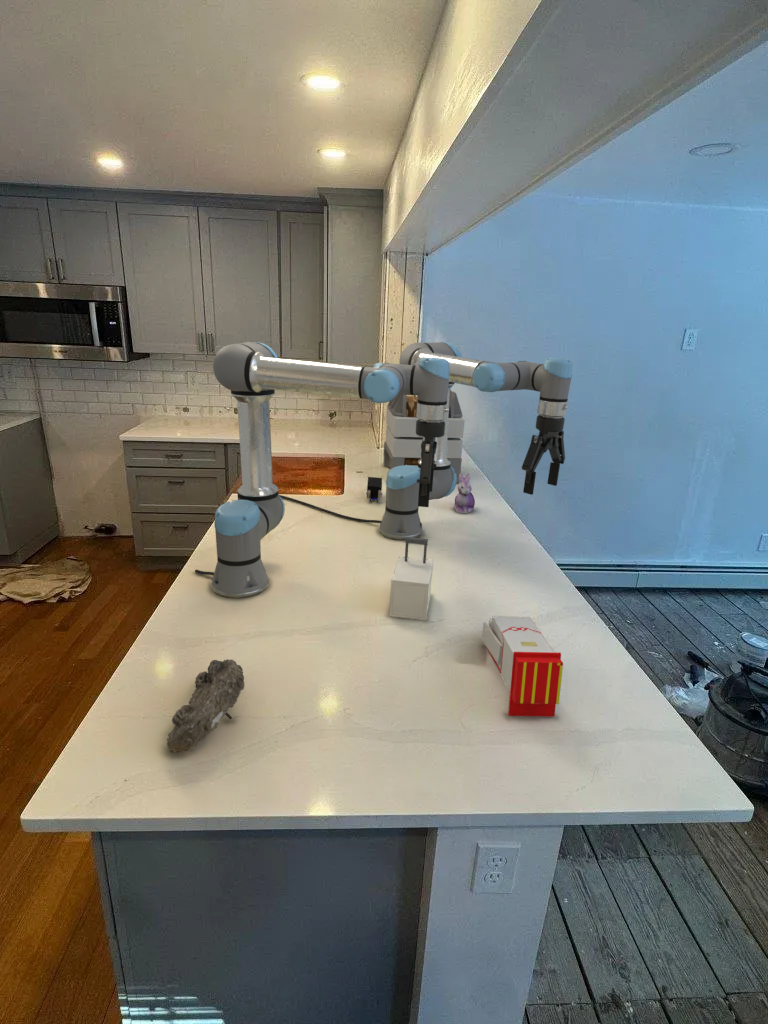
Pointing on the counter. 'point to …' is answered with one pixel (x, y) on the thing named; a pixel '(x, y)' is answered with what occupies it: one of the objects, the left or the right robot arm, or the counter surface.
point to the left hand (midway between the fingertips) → (425, 498)
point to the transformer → (405, 441)
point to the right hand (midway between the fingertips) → (540, 489)
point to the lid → (413, 566)
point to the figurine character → (374, 488)
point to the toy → (525, 665)
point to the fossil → (206, 705)
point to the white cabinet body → (410, 600)
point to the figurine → (464, 496)
